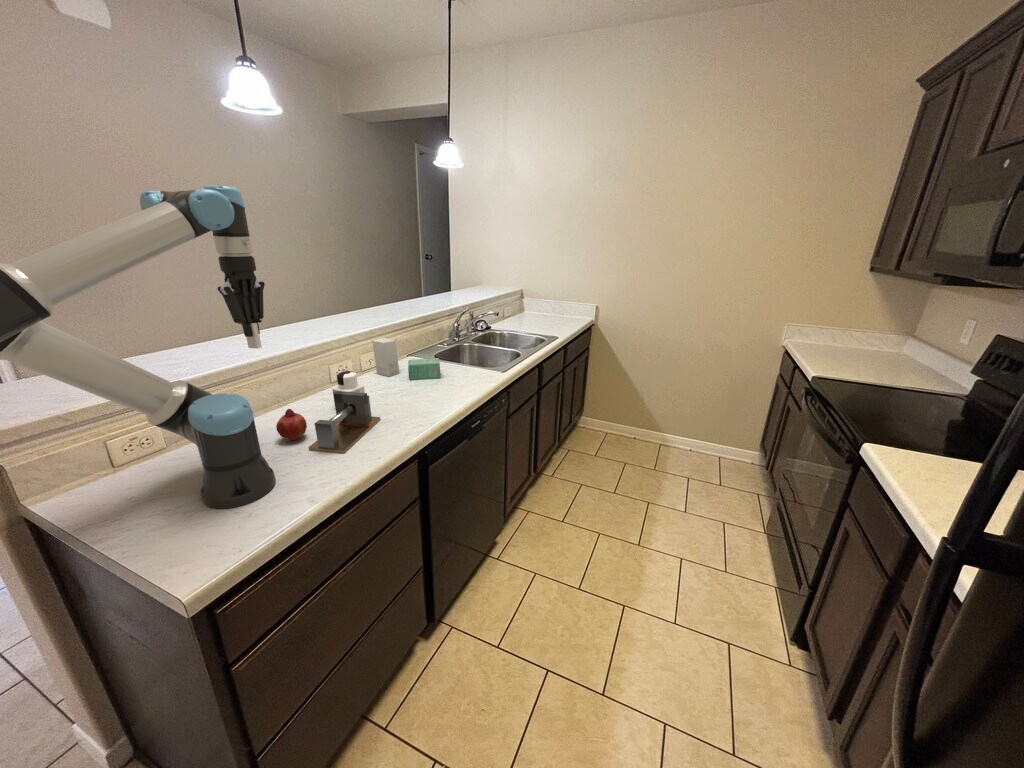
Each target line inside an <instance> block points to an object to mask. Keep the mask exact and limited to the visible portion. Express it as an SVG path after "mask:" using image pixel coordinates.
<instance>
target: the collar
mask: <svg viewBox="0 0 1024 768" xmlns="http://www.w3.org/2000/svg"><path fill="white" fill-rule="evenodd" d="M332 394H333V395H332V396H334V397H333V403H334V402H335V403H334V407H335V415H337V414H338V413H339V412H341V411H342V410H344V409H345V408H346V407H348V404H355V406H356V412H352V413H351V414H350V415H349V416H347V417H346V418H345V419H344V420H342V421H341V422H340V423H349V424H361V425H367V424H368V423H369V422H370V415H369V407H368V398H367V395H368V393H367V392H365V393H359V392H346V391H336V392H335V393H333V392H332Z"/></svg>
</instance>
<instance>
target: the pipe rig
mask: <svg viewBox="0 0 1024 768" xmlns="http://www.w3.org/2000/svg"><path fill="white" fill-rule="evenodd" d="M367 398H368V407H369V415H370V422H369V423H368V424H367V425H361V424H349V423H340V422H341V421H342V420H344V419H345V418H346V417H347V416H349V415H350V414H351V413H352V412H356V406H355V404H348V407H346V408H345V409H344V410H342V411H341V412H339V413H338V414H337V415H336V414H335V415H334V416H333V417H331V418H330V419H329V420H328V419H327V420H326V419H318V420H317V421H315V422H314V428H315V434H316V441H314V442H313V443H312V444H311V445H309V446H308V451H312V452H321V453H322V452H323V453H331V454H332V453H333V454H335V453H336V454H343V455H344V454H346V453H347V452H348V451H349V450H350V449H351V448H352V447H353V446H355V444H356V443H358V442H359V441H360V440H361V439H362V438H363V437H364V436H365V435H366V434H367V433H368V432H369V431H370V430H371V429H373V428H374V427H375V426H376V425H377V424H378V423H379V422H380V421H381V416H372V409H371V408H372V407H371V401H370V400H371V399H370V395H368V394H367Z"/></svg>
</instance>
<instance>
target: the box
mask: <svg viewBox="0 0 1024 768" xmlns="http://www.w3.org/2000/svg"><path fill="white" fill-rule="evenodd" d="M440 364H441V363H440V358H439V357H437V358H436V357H435V358H420V359H409V360H408V363H407V366H408V368H407V370H408V378H409V380H410V381H422V380H423V381H424V380H435V379H436V380H438V379H441V378H442V377H441V375H442V374H441V365H440Z"/></svg>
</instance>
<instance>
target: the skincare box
mask: <svg viewBox="0 0 1024 768" xmlns="http://www.w3.org/2000/svg"><path fill="white" fill-rule="evenodd" d="M371 342H372V349H373V357H374V363H375V370H376V374H377V375H381V376H384V377H388V378H389V377H393V376H395V375H398V374H400V365H399V358H398V350H397V341H396V339H393V338H385V337H381V338H378V339H374V340H372V341H371Z"/></svg>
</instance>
